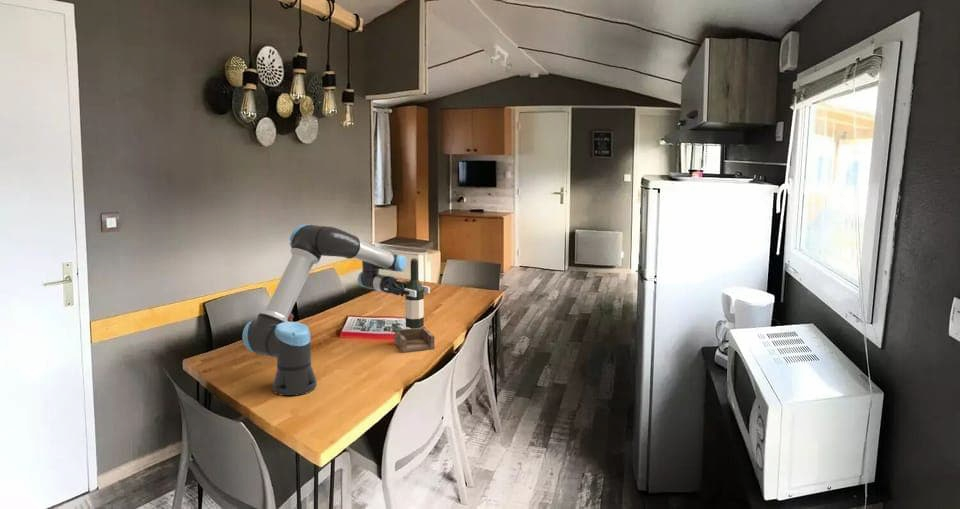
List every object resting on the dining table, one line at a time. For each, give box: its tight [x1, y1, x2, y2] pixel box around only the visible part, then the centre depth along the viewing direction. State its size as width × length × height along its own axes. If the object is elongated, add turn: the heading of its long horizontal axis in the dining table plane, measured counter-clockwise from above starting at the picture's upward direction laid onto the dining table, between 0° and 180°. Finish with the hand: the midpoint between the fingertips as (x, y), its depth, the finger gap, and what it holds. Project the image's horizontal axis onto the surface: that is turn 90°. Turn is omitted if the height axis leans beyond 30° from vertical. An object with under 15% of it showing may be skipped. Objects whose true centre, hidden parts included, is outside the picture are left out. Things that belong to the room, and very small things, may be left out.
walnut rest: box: [394, 326, 435, 354], centre depth 247 cm, size 14×14×6 cm
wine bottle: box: [404, 257, 425, 329], centre depth 243 cm, size 8×8×30 cm
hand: (422, 292), depth 240 cm, fingers closed on wine bottle, 8 cm apart
